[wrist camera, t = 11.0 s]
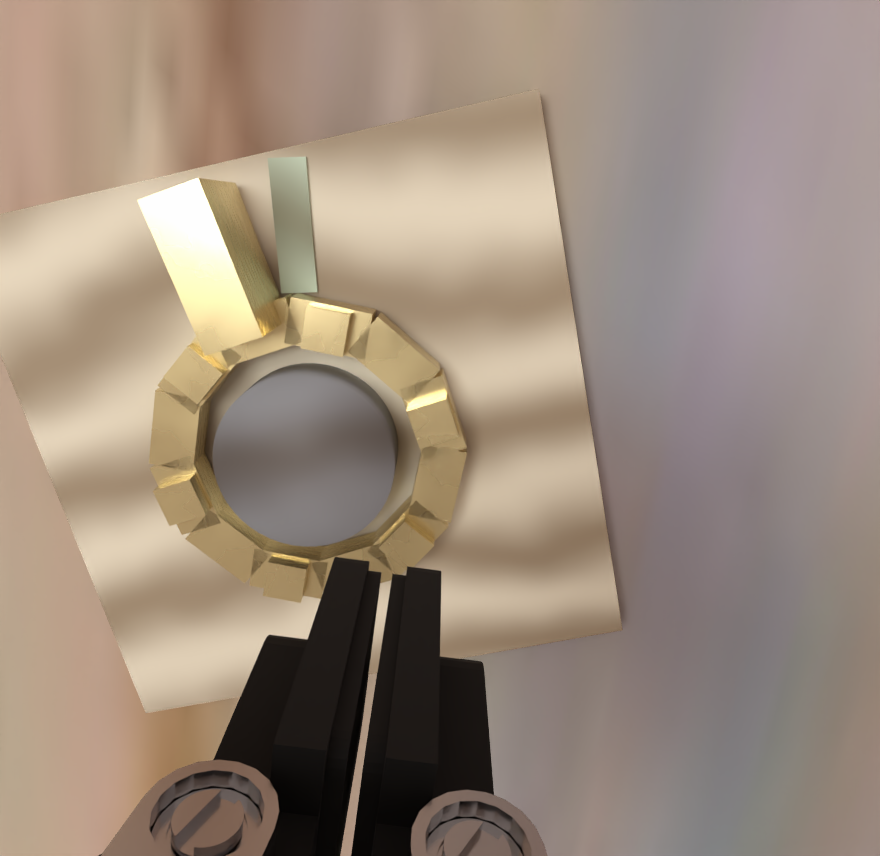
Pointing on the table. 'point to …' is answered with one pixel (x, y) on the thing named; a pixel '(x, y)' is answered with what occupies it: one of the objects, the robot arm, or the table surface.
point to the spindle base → (374, 252)
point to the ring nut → (261, 332)
